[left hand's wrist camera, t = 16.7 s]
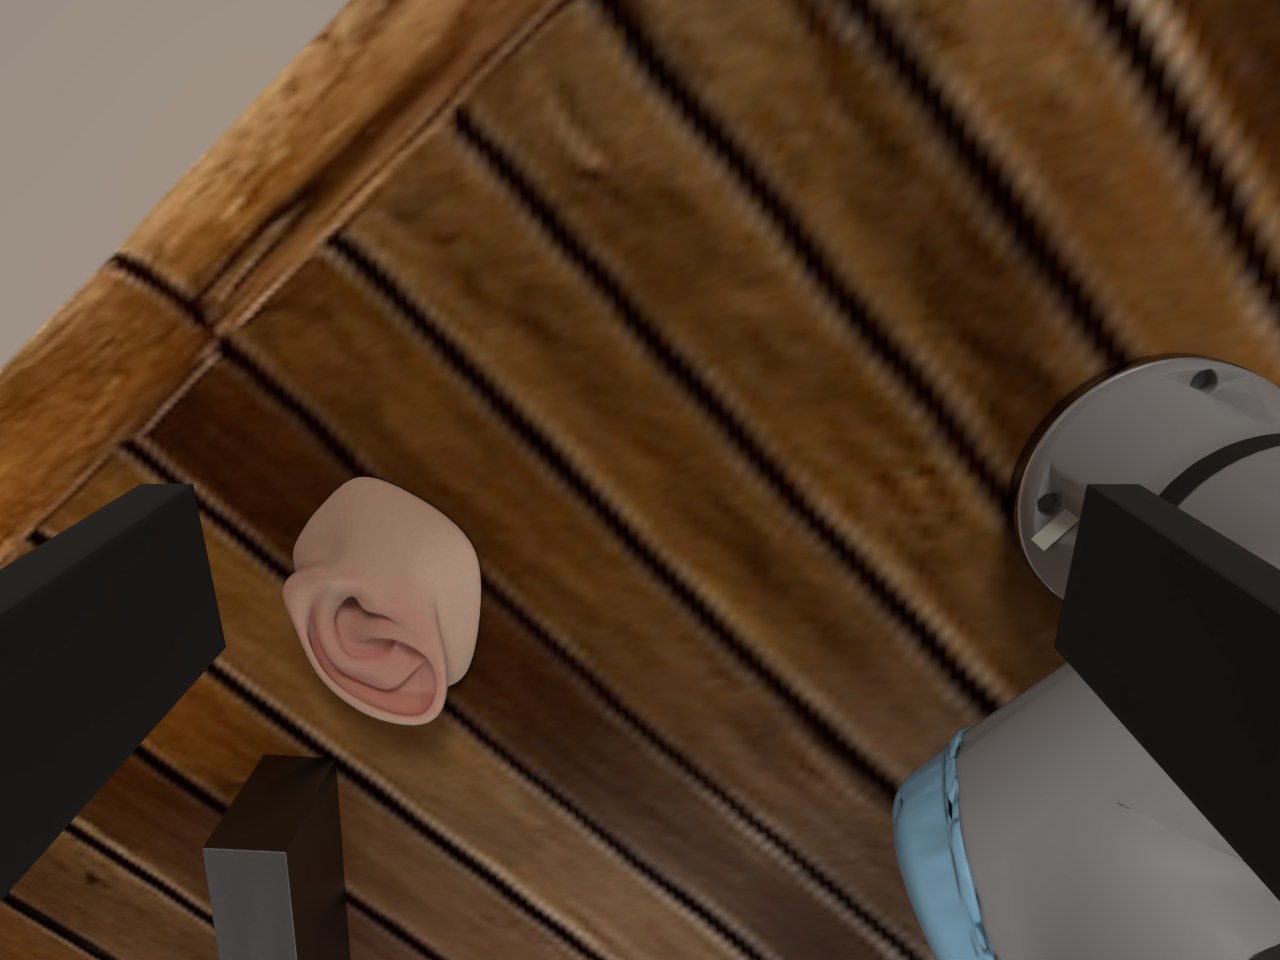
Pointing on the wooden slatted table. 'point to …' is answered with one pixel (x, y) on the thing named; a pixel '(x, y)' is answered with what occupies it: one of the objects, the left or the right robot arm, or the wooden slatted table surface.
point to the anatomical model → (385, 600)
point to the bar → (280, 865)
